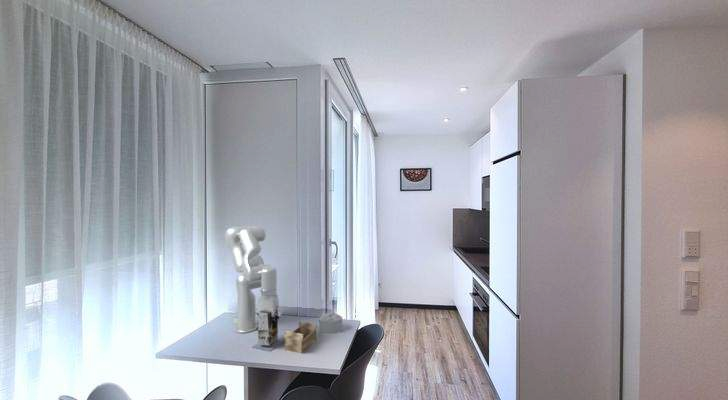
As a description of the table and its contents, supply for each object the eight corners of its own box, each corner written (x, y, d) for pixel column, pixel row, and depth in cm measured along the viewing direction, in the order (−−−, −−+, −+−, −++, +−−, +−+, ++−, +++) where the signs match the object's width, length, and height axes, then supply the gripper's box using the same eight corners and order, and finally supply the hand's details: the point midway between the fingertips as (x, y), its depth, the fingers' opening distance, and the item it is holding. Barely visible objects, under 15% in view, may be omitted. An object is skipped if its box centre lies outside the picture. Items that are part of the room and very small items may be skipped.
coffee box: (269, 345, 146) (269, 313, 146) (257, 344, 148) (257, 312, 148) (278, 337, 155) (278, 306, 155) (267, 336, 157) (267, 305, 157)
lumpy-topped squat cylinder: (322, 325, 175) (322, 310, 175) (344, 326, 173) (344, 311, 173) (317, 333, 165) (317, 317, 165) (340, 334, 163) (340, 318, 163)
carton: (284, 349, 146) (284, 331, 146) (299, 338, 159) (299, 321, 159) (302, 353, 143) (302, 334, 143) (316, 341, 155) (316, 324, 155)
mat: (252, 347, 148) (252, 346, 148) (266, 337, 158) (266, 337, 158) (270, 351, 144) (270, 350, 144) (284, 341, 155) (284, 340, 155)
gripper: (249, 292, 151) (249, 327, 151) (278, 296, 145) (278, 332, 145) (259, 288, 158) (259, 321, 158) (287, 292, 152) (287, 326, 152)
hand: (268, 326), depth 152 cm, fingers closed on coffee box, 7 cm apart
